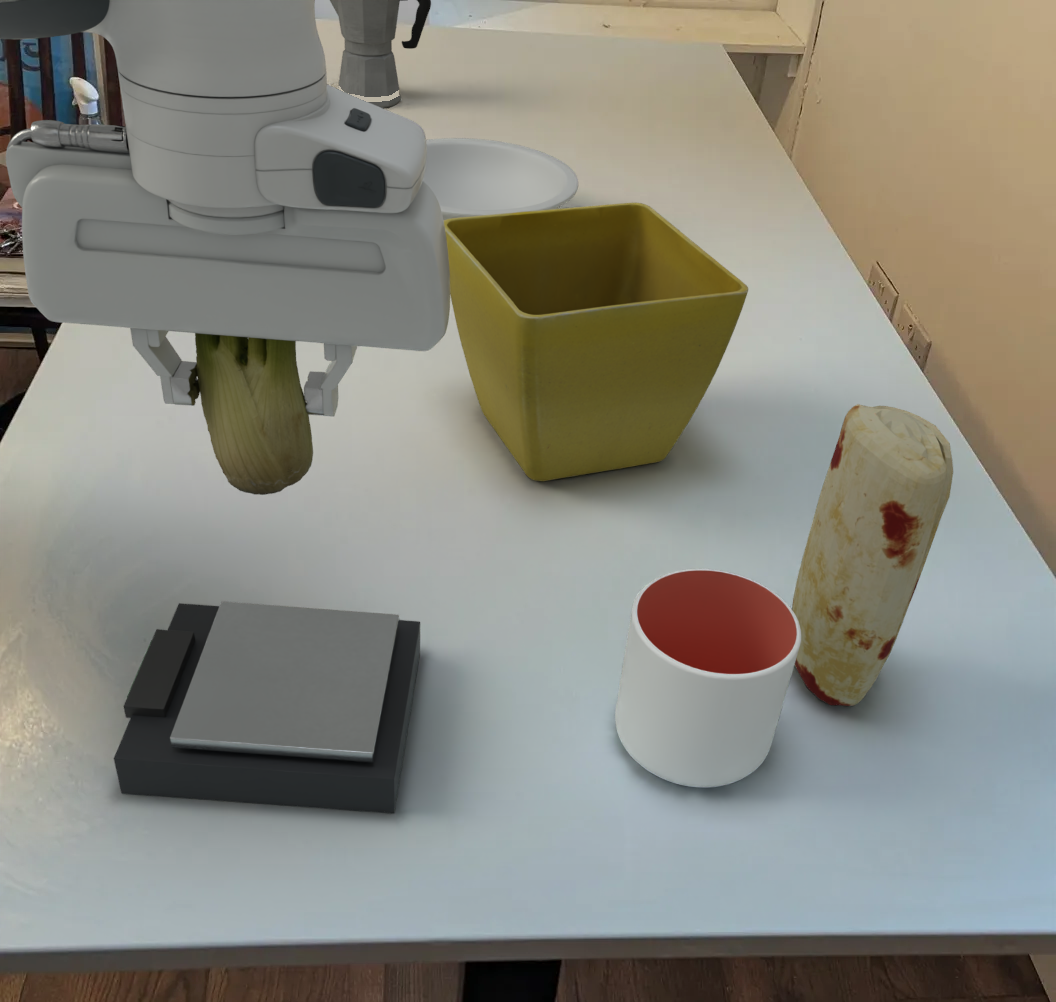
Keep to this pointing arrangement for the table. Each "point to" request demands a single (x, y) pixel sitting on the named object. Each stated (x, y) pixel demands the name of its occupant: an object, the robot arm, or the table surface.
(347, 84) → the coffeepot
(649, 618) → the cup
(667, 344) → the flower pot
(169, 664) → the scale
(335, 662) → the scale pan
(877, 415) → the food model
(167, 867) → the table surface
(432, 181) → the soup bowl
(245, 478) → the fennel bulb
